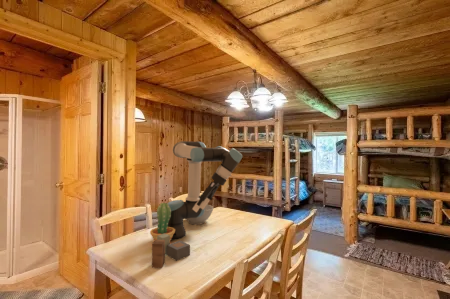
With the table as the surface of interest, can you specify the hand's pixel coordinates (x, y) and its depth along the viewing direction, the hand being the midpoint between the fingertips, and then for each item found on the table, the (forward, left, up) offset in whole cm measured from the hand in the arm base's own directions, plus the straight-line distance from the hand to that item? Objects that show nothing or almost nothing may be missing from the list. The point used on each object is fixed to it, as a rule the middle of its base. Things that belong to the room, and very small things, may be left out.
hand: (197, 209), depth 121 cm
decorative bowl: (-50, +47, -28) cm, 74 cm away
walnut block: (-13, -15, -28) cm, 34 cm away
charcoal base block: (-14, -1, -28) cm, 32 cm away
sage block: (-23, -5, -28) cm, 36 cm away
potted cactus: (-35, +3, -28) cm, 45 cm away
